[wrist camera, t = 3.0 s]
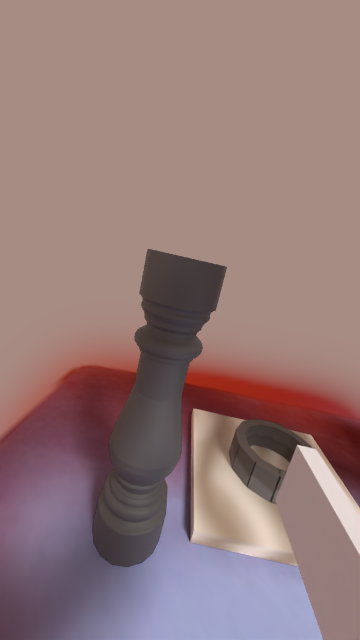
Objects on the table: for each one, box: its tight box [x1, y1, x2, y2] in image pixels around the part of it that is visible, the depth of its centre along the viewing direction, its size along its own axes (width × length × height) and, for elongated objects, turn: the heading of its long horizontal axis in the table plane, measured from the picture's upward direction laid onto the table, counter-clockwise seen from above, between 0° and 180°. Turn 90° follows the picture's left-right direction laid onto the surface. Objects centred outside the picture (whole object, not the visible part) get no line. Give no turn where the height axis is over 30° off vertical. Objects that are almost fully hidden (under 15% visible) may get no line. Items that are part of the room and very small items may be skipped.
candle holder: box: [93, 249, 227, 567], centre depth 21 cm, size 6×6×25 cm
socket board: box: [190, 408, 360, 566], centre depth 33 cm, size 20×20×5 cm
